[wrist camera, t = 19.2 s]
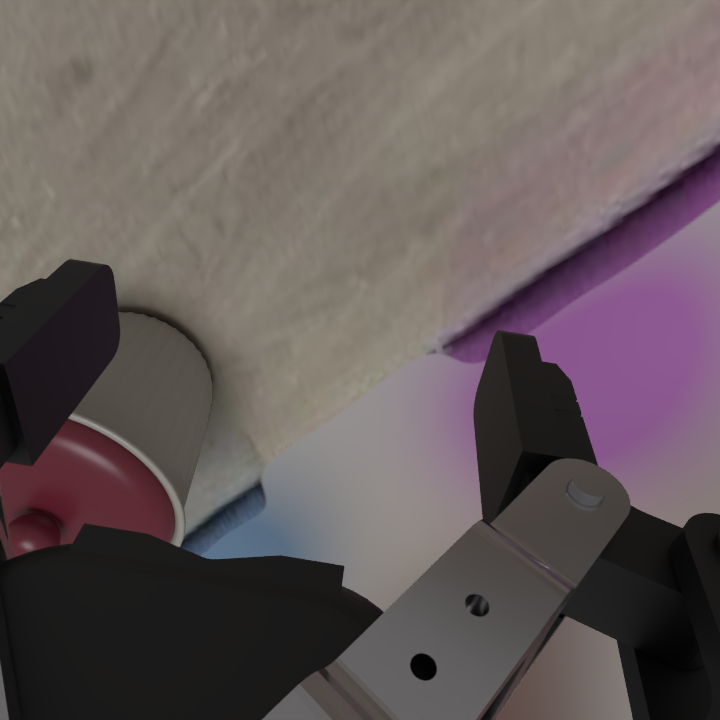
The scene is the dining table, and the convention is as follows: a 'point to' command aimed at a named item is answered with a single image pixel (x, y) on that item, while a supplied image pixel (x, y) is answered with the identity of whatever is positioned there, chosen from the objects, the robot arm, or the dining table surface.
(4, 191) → the dining table surface
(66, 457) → the canister
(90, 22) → the dining table surface
